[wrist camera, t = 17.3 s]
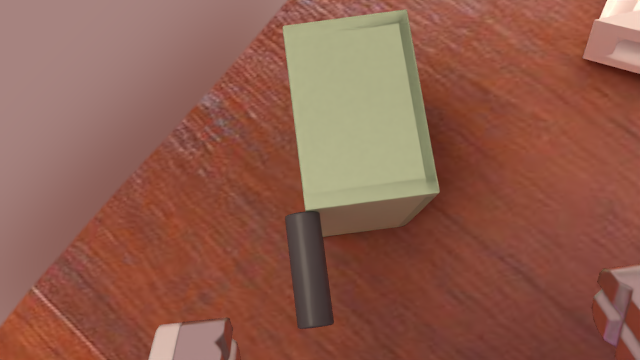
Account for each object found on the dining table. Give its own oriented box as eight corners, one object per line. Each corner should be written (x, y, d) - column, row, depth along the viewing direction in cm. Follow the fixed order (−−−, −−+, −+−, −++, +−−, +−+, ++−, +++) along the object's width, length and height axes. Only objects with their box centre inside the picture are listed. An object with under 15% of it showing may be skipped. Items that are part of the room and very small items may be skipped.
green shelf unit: (310, 316, 34) (296, 330, 22) (285, 112, 37) (261, 28, 25) (417, 302, 34) (461, 308, 22) (384, 99, 37) (406, 8, 25)
